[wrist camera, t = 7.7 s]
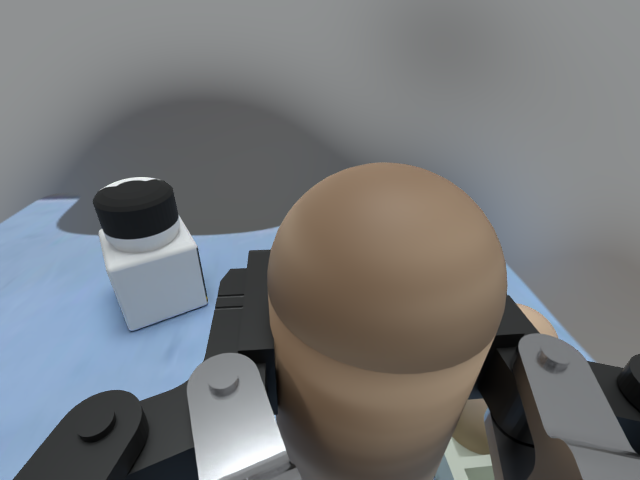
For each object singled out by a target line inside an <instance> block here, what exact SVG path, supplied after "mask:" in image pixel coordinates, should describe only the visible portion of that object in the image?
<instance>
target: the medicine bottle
mask: <svg viewBox="0 0 640 480" xmlns="http://www.w3.org/2000/svg"><path fill="white" fill-rule="evenodd" d="M93 204H94V207H95V210H96V213H97V215H98V218H99V221H100V224H101V226H102V229H101V230H100V231H99V238H100V242H101V247H102V252H103V257H104V261H105V266H106V271H107V274H108V276H109V279H110V282H111V284H112V287H113V290H114V292H115V295H116V297H117V300H118V303H119V305H120V308H121V311H122V313H123V316H124V319H125V321H126V324H127V327H128V329H129V330H130V331H135V330H137V329H140V328H143V327H146V326H148V325H151V324H154V323H157V322H160V321H162V320H165V319H168V318H171V317H174V316H176V315H179V314H182V313H185V312H188V311H190V310H193V309H196V308H199V307H202V306H204V305H206V304H207V303H208V298H207V293H206V288H205V283H204V278H203V272H202V267H201V262H200V257H199V252H198V246H197V245H196V243H195V241H194V240H193V238H192V236H191V235H190V233H189V231H188V230H187V228H186V226H185V225H184V223H183V221H182V220H181V218H180V216H179V215H178V211H177V206H176V202H175V197H174V193H173V188H172V187H171V186H170V185H169V184H168V183H166V182H165V181H162V180H159V179H154V178H146V177H136V178H129V179H123V180H120V181H117V182H114V183H112V184H110V185H108V186H106V187H104V188H102V189H101V190H99V191H98V193H97V194H96V195H95V197H94V199H93Z"/></svg>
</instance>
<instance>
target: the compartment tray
mask: <svg viewBox="0 0 640 480" xmlns="http://www.w3.org/2000/svg"><path fill="white" fill-rule="evenodd" d="M517 306H518V307H519V308H520V309H521V311H522V312H523V313H524V314H525V316H526V317H527V318H528V319H529V320H530V322H531V323H532V324H533V325H534V327H535V328H536V329H537V330H538V331H539V333H540V334H546V335H550V336H553V337H556V338H558V336H557V334H556V331H555V329H554V328H553V326H552V325H551V323H550V322H549V321H548V320H547V319H546V318H545V317H544V316H543V315H542V314H540V313H539V312H537V311H536V310H534V309H532V308H530V307H528V306H525V305H521V304H517ZM486 409H487V405H486V403H485V401H484V399H471V400H467V402H466V405H465V407H464V409H463V412H462V414H461V416H460V419H459V421H458V423H457V426H456V428H455V430H454V433H453V435H452V437H451V439H450V442H449V444H448V446H447V449H446V451H445V453H444V456H443V458H442V460H441V463H440V465H439V467H438V470H437V472H436V474H435V479H436V480H495V479H494V473H493V468H492V462H491V457H490V452H489V446H488V441H487V435H486V430H485V424H484V414H485V411H486Z"/></svg>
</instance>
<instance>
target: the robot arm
mask: <svg viewBox="0 0 640 480" xmlns="http://www.w3.org/2000/svg"><path fill="white" fill-rule="evenodd" d="M270 252H271V250H250V251H249V255H248V264H247V268H241V269H230V270H229V271H228V273H227V274H226V275H225V276H224V278H223V279H222V280H221V281H220V286H219V291H218V298H217V301H216V306H215V310H214V315H213V320H212V325H211V330H210V335H209V340H208V344H207V349H206V354H205V358H204V361H203V362H202V363H201V364H200V365H199V366H198V367H197V368H196V369H195V370H194V371H193V373H192V375H191V376H190V378H189V380H188V381H186V382H185V383H183V384H182V385H180V386H178V387H176V388H174V389H172V390H169V391H167V392H164V393H161V394H158V395H156V396H153V397H150V398H147V399H144V400H142V401H139V400H138V399H137V397H136V396H134V395H133V394H131V393H130V392H127V391H123V390H110V391H105V392H101V393H98V394H96V395H93V396H91V397H89V398H87V399H85V400H84V401H82V402H81V403H79V404H78V405H76V406H75V407H74V408H73V409H72V410H70V411H69V412H68V413H67V414H66V416H65V417H64V418H63V419H62V420H61V421H60V423H59V424H58V425H57V426H56V427H55V429H54V430H53V431H52V432H51V434H50V435H49V436H48V437H47V438H46V440H45V441H44V442H43V443H42V445H41V446H40V447H39V448H38V449H37V451H36V452H35V453H34V454H33V456H32V457H31V458H30V459H29V460H28V462H27V463H26V464H25V465H24V467H23V468H22V469H21V470H20V471H19V473H18V474H17V475H16V476H15V478H14V479H13V480H302V478H301V475H300V473H299V471H298V469H297V467H296V466H295V464H293V463H291V461H290V459H289V457H288V454H287V452H286V449H285V446H284V443H283V440H282V437H281V434H280V431H279V428H278V426H277V423H276V420H275V417H274V415H278V396H277V380H276V363H275V347H274V338H273V334H272V331H271V327H270V316H269V301H268V286H267V270H268V263H269V257H270ZM471 399H484V401H485V403H486V405H487V409H486V411H485V414H484V424H485V430H486V435H487V441H488V446H489V452H490V457H491V462H492V468H493V473H494V479H495V480H640V354H638V355H635V356H633V357H632V358H631V359H630V361H629V362H628V363H627V365H626V366H625V367H624V368H620V367H614V366H610V365H605V364H600V363H595V362H590V361H586V359H585V358H584V357H583V355H582V354H581V353H580V352H579V351H578V350H576V349H575V348H574V347H573V346H571V345H569V344H568V343H566V342H564V341H563V340H561V339H558V338H556V337H553V336H550V335H546V334H540V333H539V331H538V330H537V329H536V328H535V327H534V325H533V324H532V323H531V322H530V320H529V319H528V318H527V317H526V316H525V314H524V313H523V312H522V311H521V309H520V308H519V307H518V306H517V304H516V303H515V302H514V301H513V300H512V298H511V297H510V296H509V295H508V296H507V294H506V302H505V310H504V313H503V316H502V319H501V322H500V325H499V328H498V330H497V333H496V335H495V338H494V340H493V342H492V345H491V347H490V349H489V352H488V354H487V356H486V359H485V361H484V363H483V365H482V368H481V370H480V372H479V375H478V377H477V379H476V382H475V384H474V386H473V389H472V391H471V393H470V396H469V398H468V400H471Z"/></svg>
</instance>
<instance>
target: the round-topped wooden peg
mask: <svg viewBox="0 0 640 480" xmlns="http://www.w3.org/2000/svg"><path fill="white" fill-rule="evenodd" d="M267 286H268V301H269V316H270V327H271V331H272V334H273V338H274V347H275V363H276V380H277V396H278V415H276V421H277V426H278V428H279V431H280V434H281V437H282V440H283V443H284V446H285V449H286V452H287V454H288V457H289V459H290V461H291V463H293V464H295V466H296V467H297V469H298V471H299V473H300V475H301V478H302V480H433V479H434V476H435V474H436V472H437V470H438V467H439V465H440V463H441V460H442V458H443V456H444V453H445V451H446V449H447V446H448V444H449V442H450V439H451V437H452V435H453V433H454V430H455V428H456V426H457V423H458V421H459V419H460V416H461V414H462V412H463V409H464V407H465V405H466V402H467V400H468V398H469V396H470V393H471V391H472V389H473V386H474V384H475V382H476V379H477V377H478V375H479V372H480V370H481V368H482V365H483V363H484V361H485V359H486V356H487V354H488V352H489V349H490V347H491V345H492V342H493V340H494V338H495V335H496V333H497V330H498V328H499V325H500V322H501V319H502V316H503V313H504V310H505V302H506V294H507V272H506V263H505V259H504V255H503V251H502V247H501V245H500V242H499V240H498V238H497V235H496V233H495V230H494V228H493V227H492V225H491V223H490V222H489V220H488V219H487V217H486V216H485V214H484V213H483V211H482V210H481V209H480V207H479V206H478V205H477V204H476V203H475V202H474V201H473V200H472V199H471V198H470V197H469V196H468V195H467V194H466V193H465V192H464V191H463V190H461V189H460V188H458V187H457V186H456V185H454V184H453V183H451V182H450V181H449V180H447V179H445V178H443V177H441V176H439V175H437V174H435V173H432V172H430V171H428V170H425V169H422V168H419V167H415V166H411V165H405V164H398V163H371V164H365V165H361V166H356V167H351V168H348V169H345V170H343V171H340V172H338V173H336V174H334V175H331V176H329V177H327V178H325V179H324V180H322V181H321V182H319V183H318V184H316V185H315V186H313V187H312V188H311V189H310V190H308V192H306V193H305V194H304V195H303V196H302V197H301V198H300V199H299V200H298V201H297V202H296V203H295V204H294V206H293V207H292V208H291V210H290V211H289V212H288V214H287V215H286V217H285V218H284V220H283V222H282V224H281V225H280V227H279V229H278V231H277V234H276V237H275V240H274V242H273V245H272V248H271V252H270V257H269V263H268V270H267Z"/></svg>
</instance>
